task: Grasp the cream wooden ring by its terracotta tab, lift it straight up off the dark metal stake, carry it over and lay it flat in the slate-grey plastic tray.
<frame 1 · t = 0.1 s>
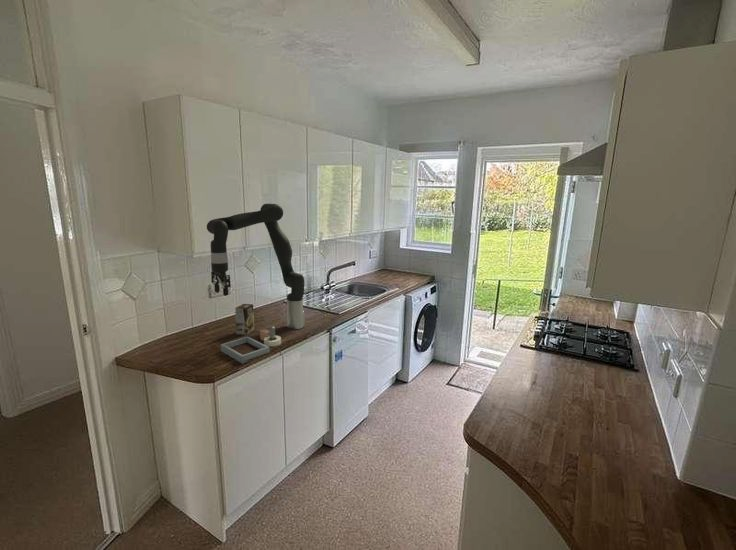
hand: (221, 293, 177), 29 cm above the countertop, fingers open, 8 cm apart
tray: (245, 352, 180), on the countertop
ring: (272, 343, 190), point 1 cm above the countertop, touching stake
stake: (272, 344, 190), on the countertop
coffee box: (245, 333, 205), on the countertop
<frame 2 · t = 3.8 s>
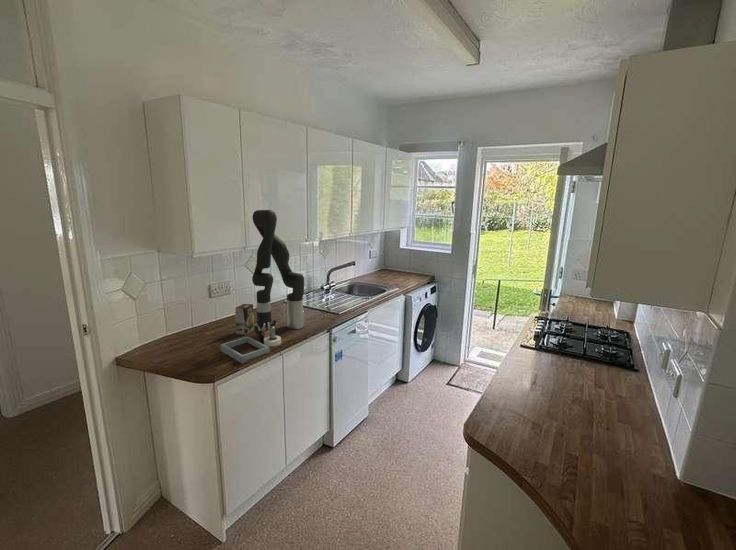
hand: (265, 340, 194), 1 cm above the countertop, fingers closed on ring, 3 cm apart
ring: (272, 343, 190), point 1 cm above the countertop, touching gripper, stake
everything else where it was.
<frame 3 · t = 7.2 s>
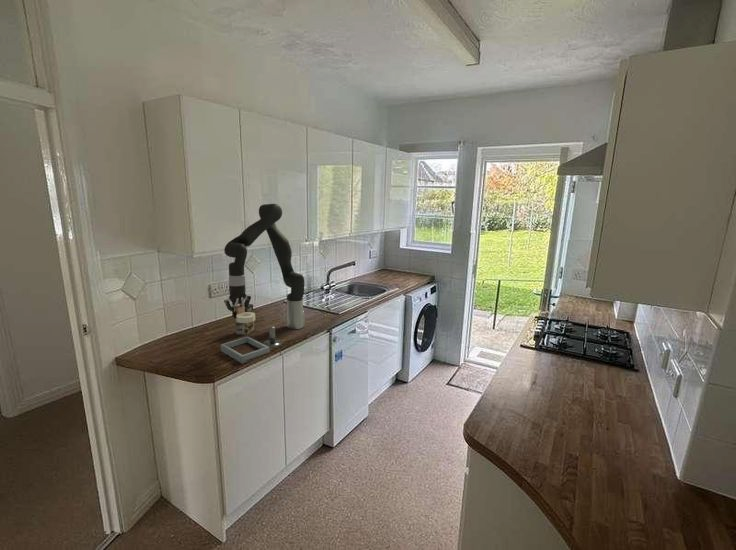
hand: (238, 317, 179), 17 cm above the countertop, fingers closed on ring, 3 cm apart
ring: (246, 319, 175), point 18 cm above the countertop, touching gripper
everything else where it was.
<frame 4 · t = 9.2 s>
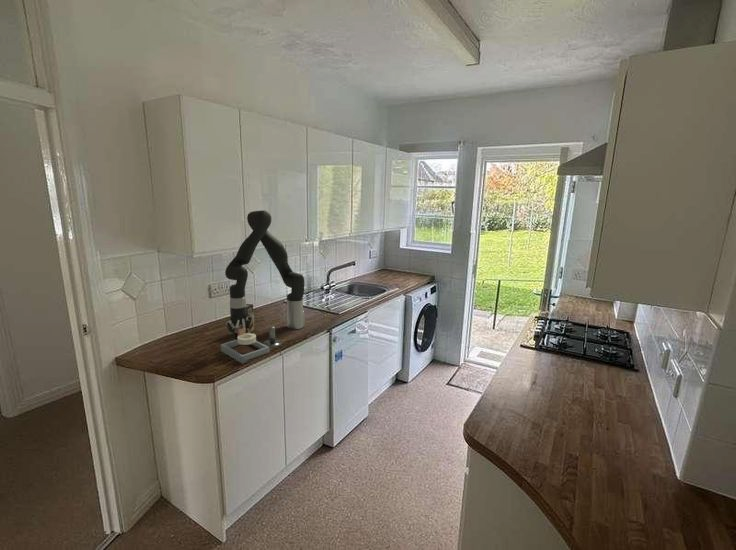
hand: (239, 338, 181), 6 cm above the countertop, fingers closed on ring, 3 cm apart
ring: (246, 341, 177), point 7 cm above the countertop, touching gripper
everything else where it was.
when the fingers open (2 cm above the countertop, at t = 10.9 s): ring drops 1 cm, resting on tray.
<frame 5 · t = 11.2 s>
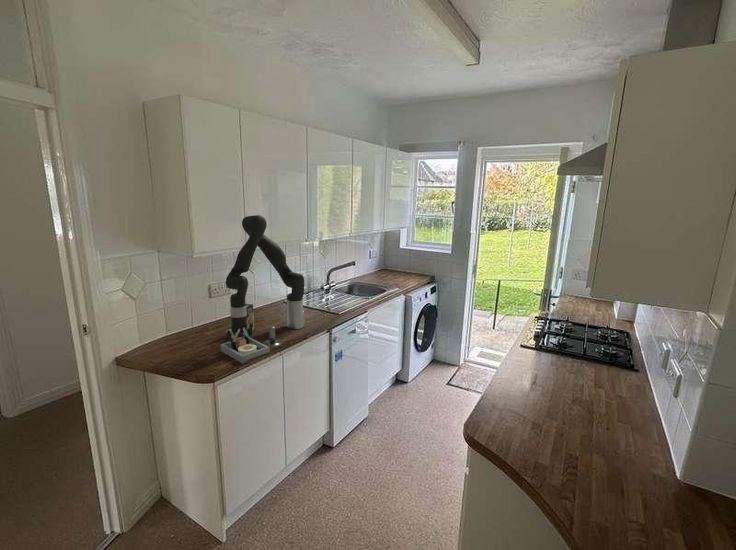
hand: (240, 345, 182), 2 cm above the countertop, fingers open, 6 cm apart
ring: (247, 352, 178), point 1 cm above the countertop, touching tray
everything else where it was.
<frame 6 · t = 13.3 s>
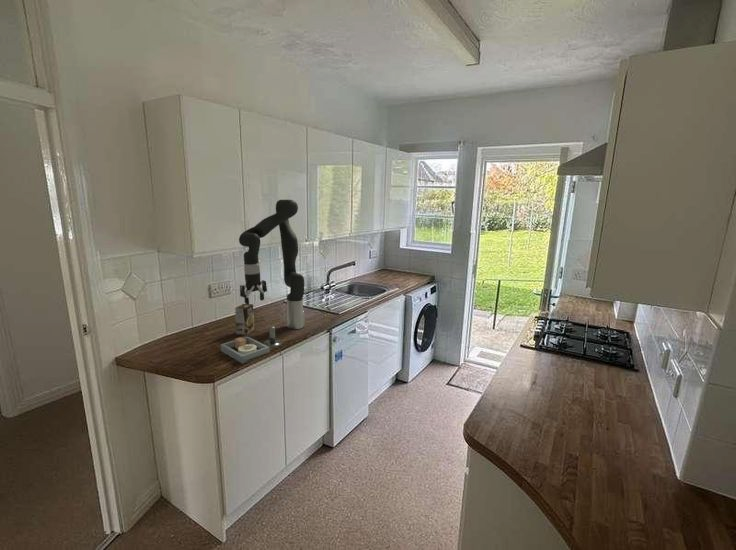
hand: (254, 302, 187), 23 cm above the countertop, fingers open, 8 cm apart
nothing on the countertop moved.
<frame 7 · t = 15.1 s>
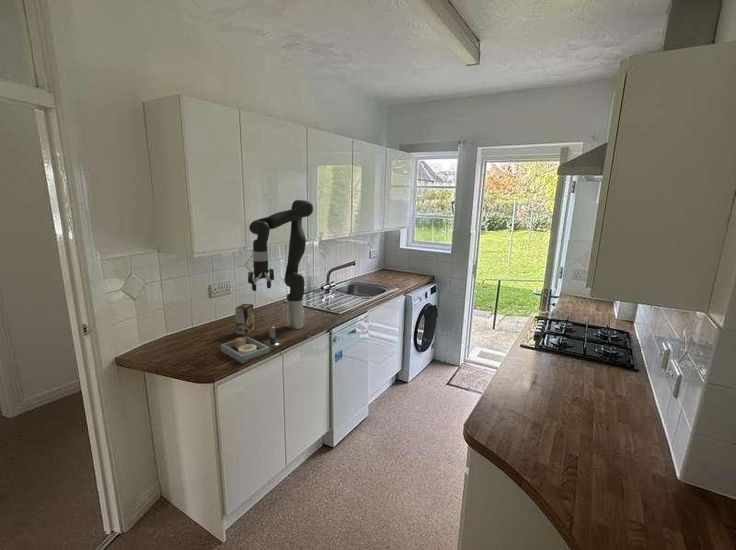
hand: (261, 289, 191), 28 cm above the countertop, fingers open, 8 cm apart
nothing on the countertop moved.
at the end: ring inside the target area on the tray (2.2 cm from its centre), point 0.8 cm above the tray's base; ring tilted 0°; the gripper is holding nothing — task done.
